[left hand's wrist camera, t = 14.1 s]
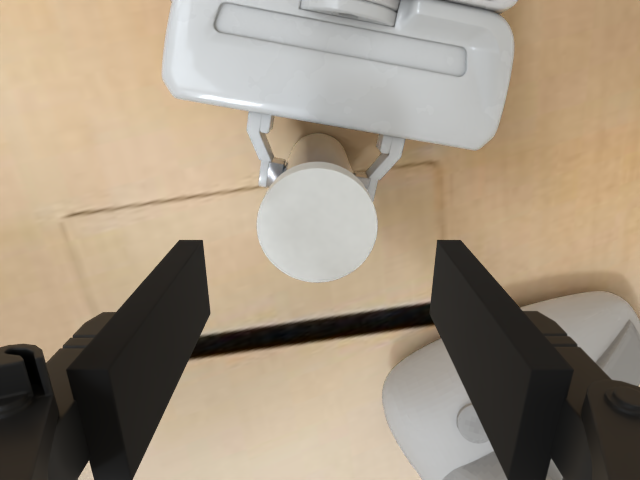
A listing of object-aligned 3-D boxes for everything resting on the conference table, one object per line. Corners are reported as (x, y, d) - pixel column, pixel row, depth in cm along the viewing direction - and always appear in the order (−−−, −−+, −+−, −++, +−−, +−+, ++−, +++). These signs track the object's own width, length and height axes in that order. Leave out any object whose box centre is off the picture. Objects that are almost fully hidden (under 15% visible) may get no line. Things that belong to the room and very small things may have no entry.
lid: (346, 283, 22) (349, 298, 20) (246, 246, 21) (240, 259, 20) (392, 187, 20) (398, 195, 19) (283, 143, 19) (281, 148, 18)
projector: (561, 471, 46) (664, 637, 32) (355, 444, 45) (371, 605, 31) (651, 293, 38) (836, 411, 25) (406, 253, 37) (457, 354, 23)
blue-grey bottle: (333, 199, 35) (344, 285, 21) (280, 178, 35) (252, 251, 20) (356, 146, 34) (385, 197, 19) (301, 123, 33) (286, 157, 18)
